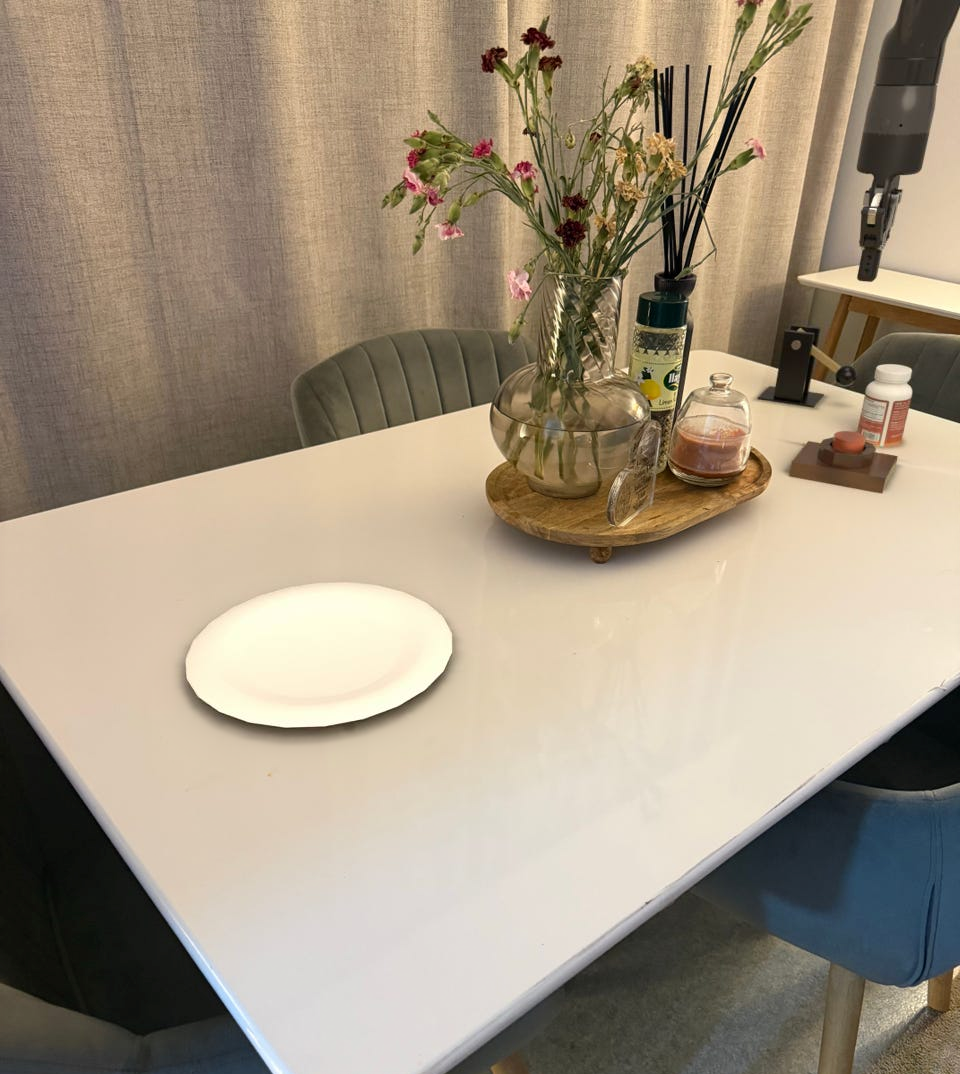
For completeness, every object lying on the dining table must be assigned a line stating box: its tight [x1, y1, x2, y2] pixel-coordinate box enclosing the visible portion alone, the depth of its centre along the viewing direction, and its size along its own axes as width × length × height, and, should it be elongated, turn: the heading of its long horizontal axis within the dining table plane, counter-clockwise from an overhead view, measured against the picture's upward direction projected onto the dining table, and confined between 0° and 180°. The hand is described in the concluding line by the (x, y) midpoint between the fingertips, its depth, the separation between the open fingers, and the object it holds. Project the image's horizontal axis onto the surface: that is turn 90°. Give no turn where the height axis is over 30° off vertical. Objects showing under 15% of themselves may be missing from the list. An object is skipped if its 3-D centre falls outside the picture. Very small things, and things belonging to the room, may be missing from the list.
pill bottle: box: [857, 363, 913, 447], centre depth 131 cm, size 6×6×11 cm
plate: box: [184, 581, 453, 730], centre depth 87 cm, size 25×25×2 cm
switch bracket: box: [757, 324, 825, 409], centre depth 147 cm, size 9×7×12 cm
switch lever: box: [797, 328, 858, 387], centre depth 145 cm, size 12×3×3 cm, turn 60°
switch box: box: [788, 436, 899, 495], centre depth 124 cm, size 12×9×4 cm
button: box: [832, 430, 866, 452], centre depth 122 cm, size 4×4×2 cm
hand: (866, 280), depth 120 cm, fingers closed
